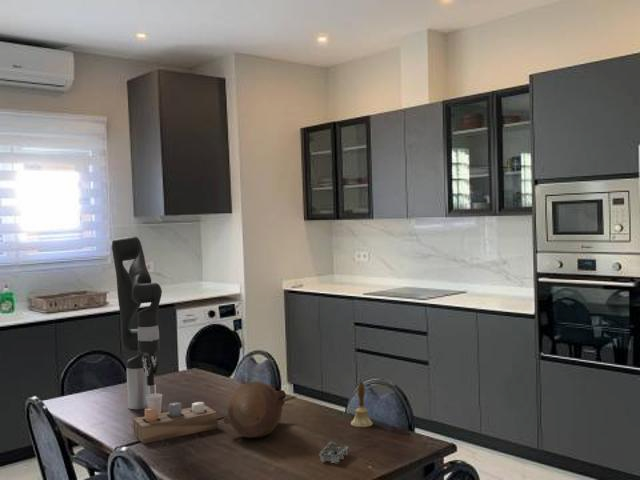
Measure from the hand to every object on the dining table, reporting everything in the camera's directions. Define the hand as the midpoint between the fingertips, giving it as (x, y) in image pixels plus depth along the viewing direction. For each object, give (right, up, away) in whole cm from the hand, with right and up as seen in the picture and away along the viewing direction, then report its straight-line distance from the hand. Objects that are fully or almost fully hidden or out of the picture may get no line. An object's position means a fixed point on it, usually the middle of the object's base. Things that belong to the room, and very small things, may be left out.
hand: (150, 385), depth 232 cm
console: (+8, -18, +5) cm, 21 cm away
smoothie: (-3, -19, +20) cm, 28 cm away
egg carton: (+67, -18, -26) cm, 74 cm away
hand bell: (+78, -16, +7) cm, 80 cm away
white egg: (+16, -15, +10) cm, 24 cm away
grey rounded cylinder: (+8, -14, +5) cm, 17 cm away
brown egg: (0, -15, 0) cm, 15 cm away
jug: (+41, -18, +2) cm, 44 cm away
